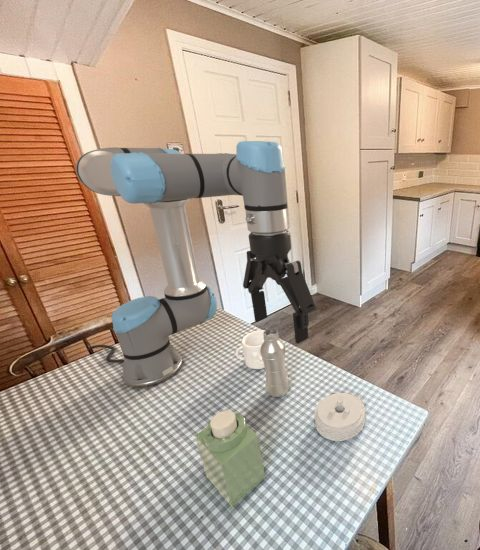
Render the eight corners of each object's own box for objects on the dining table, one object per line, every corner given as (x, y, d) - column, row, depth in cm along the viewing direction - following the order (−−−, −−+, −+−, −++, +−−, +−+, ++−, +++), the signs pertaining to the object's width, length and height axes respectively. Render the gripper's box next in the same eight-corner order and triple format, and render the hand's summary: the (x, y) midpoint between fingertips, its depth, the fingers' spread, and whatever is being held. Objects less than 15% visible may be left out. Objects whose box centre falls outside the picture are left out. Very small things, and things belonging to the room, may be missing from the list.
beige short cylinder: (208, 431, 58) (205, 421, 57) (229, 416, 62) (227, 406, 61) (220, 443, 56) (217, 433, 55) (241, 427, 59) (239, 417, 58)
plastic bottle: (284, 402, 83) (276, 340, 76) (262, 398, 84) (252, 337, 77) (294, 386, 89) (288, 327, 81) (273, 382, 90) (265, 324, 83)
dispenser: (206, 476, 64) (192, 427, 59) (238, 451, 69) (229, 403, 64) (232, 507, 58) (219, 456, 53) (265, 477, 64) (256, 427, 58)
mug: (238, 378, 92) (233, 353, 88) (237, 358, 101) (233, 335, 97) (278, 368, 96) (275, 343, 93) (274, 350, 105) (271, 327, 102)
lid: (349, 396, 85) (348, 382, 83) (374, 428, 75) (375, 412, 74) (307, 416, 79) (305, 401, 77) (329, 453, 69) (328, 437, 67)
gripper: (215, 225, 61) (232, 318, 69) (298, 247, 47) (307, 360, 55) (248, 219, 66) (260, 306, 74) (331, 237, 52) (335, 341, 60)
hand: (280, 329), depth 64 cm, fingers open, 13 cm apart
